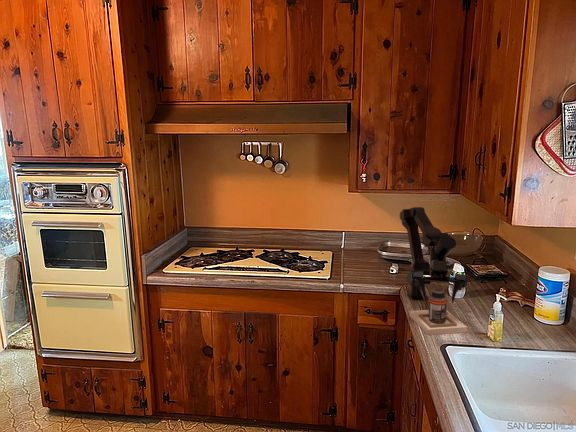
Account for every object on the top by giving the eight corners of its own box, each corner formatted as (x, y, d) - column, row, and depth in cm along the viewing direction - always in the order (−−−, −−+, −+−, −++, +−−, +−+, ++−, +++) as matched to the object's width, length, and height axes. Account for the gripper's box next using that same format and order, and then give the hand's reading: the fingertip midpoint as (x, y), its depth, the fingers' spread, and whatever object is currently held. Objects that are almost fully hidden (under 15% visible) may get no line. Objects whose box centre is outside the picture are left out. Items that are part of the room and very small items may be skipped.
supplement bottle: (432, 316, 157) (433, 286, 155) (448, 320, 154) (450, 290, 152) (425, 321, 153) (426, 291, 151) (442, 326, 149) (443, 295, 147)
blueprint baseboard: (409, 315, 163) (409, 308, 162) (444, 313, 164) (445, 306, 164) (428, 335, 147) (428, 326, 146) (466, 332, 149) (467, 324, 148)
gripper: (412, 249, 155) (412, 289, 146) (468, 252, 150) (470, 293, 141) (411, 264, 164) (410, 302, 155) (463, 267, 159) (466, 307, 150)
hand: (438, 301), depth 150 cm, fingers open, 9 cm apart
